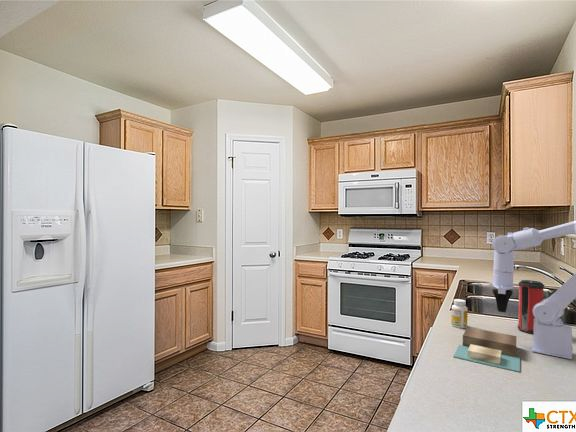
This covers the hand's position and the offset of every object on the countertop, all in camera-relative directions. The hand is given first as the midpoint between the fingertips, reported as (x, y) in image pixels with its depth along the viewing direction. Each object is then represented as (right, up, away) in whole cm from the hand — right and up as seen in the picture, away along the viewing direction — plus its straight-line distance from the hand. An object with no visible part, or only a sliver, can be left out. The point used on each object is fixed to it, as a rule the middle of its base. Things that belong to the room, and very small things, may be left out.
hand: (501, 311), depth 115 cm
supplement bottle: (-8, -9, +14) cm, 18 cm away
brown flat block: (-8, -9, -7) cm, 14 cm away
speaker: (+16, -10, +9) cm, 21 cm away
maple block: (-15, -7, -16) cm, 23 cm away
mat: (-14, -9, -15) cm, 23 cm away
